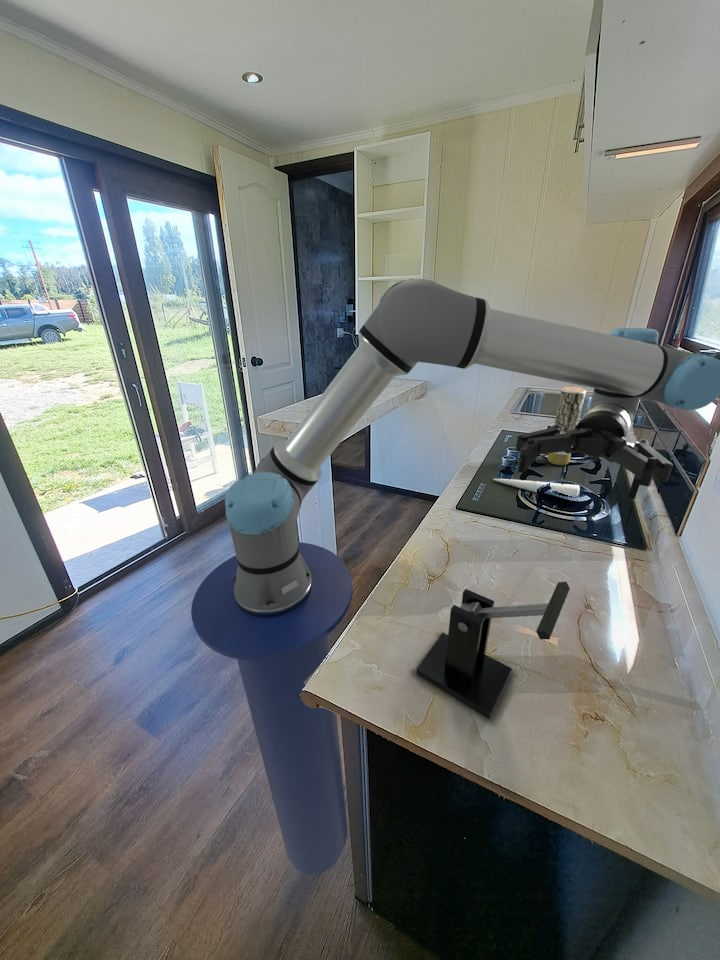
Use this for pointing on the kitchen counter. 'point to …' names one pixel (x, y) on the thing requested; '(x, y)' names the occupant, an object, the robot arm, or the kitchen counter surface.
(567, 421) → the brown bark cylinder
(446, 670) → the bracket
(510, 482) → the unicorn horn
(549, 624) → the lever
